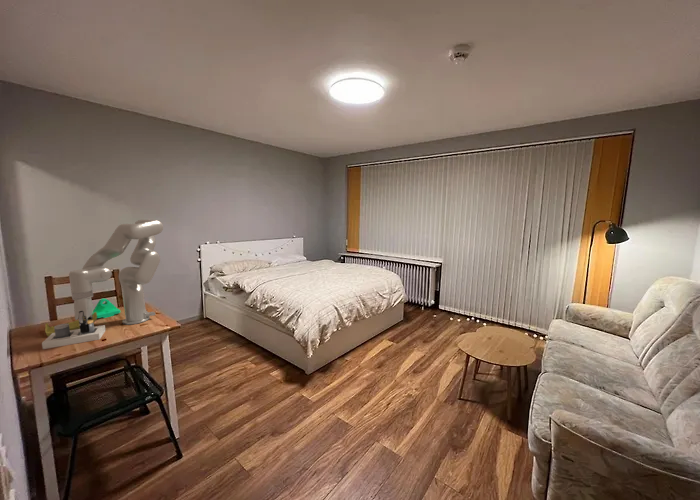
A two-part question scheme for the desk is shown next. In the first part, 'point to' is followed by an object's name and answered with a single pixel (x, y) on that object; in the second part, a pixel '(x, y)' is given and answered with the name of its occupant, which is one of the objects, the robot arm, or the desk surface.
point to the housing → (73, 338)
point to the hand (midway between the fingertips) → (87, 329)
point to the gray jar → (90, 327)
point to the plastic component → (72, 325)
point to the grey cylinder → (62, 331)
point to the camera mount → (105, 309)
